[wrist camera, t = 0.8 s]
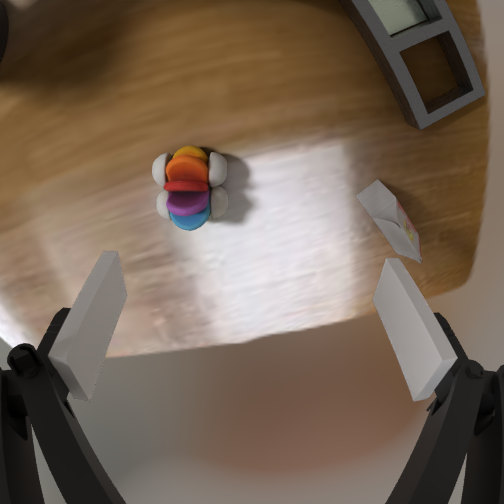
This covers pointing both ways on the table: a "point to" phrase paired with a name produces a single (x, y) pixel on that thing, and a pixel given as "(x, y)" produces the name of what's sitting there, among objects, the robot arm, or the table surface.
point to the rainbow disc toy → (191, 186)
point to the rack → (388, 47)
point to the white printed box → (391, 220)
